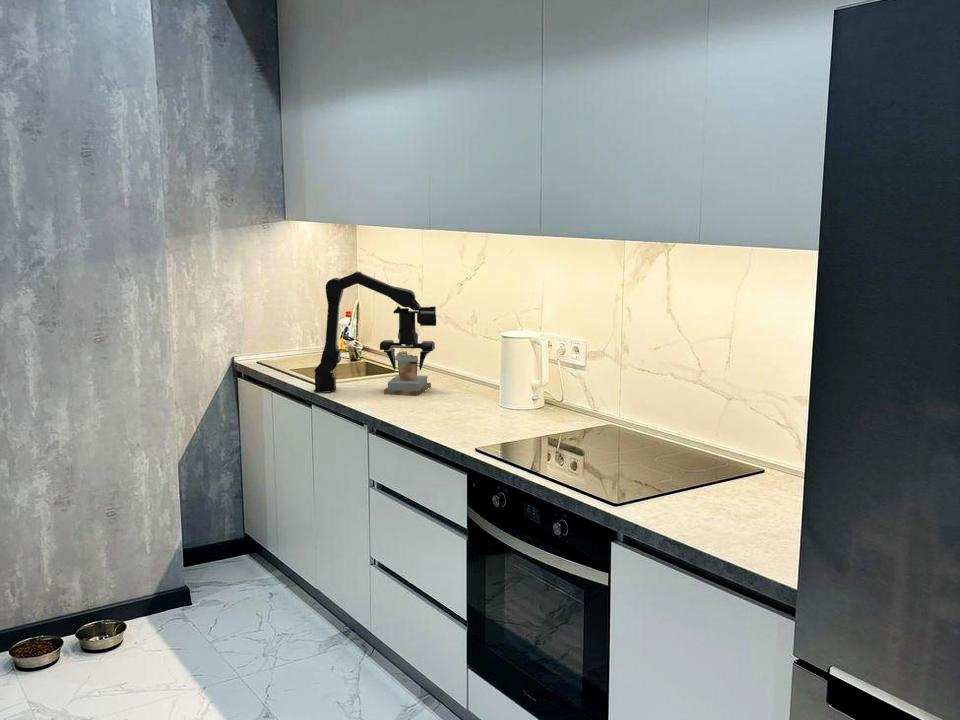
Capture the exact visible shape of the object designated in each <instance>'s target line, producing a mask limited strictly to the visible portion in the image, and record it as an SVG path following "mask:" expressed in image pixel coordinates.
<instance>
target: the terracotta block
mask: <svg viewBox="0 0 960 720" xmlns="http://www.w3.org/2000/svg"><path fill="white" fill-rule="evenodd" d="M415 379H416V364H402V365H401V366H400V381H414V380H415Z"/></svg>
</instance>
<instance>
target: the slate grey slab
mask: <svg viewBox="0 0 960 720" xmlns="http://www.w3.org/2000/svg"><path fill="white" fill-rule="evenodd" d="M426 383H428V376H427V375H417V376H416V379H415V380H414V381H400V375H399V374H397V375H395V376H394V377H393V378H392V379H390V380H389V381H387V388H388V390H409V391H419V390H420V389H421V388H422V387H423V386H424V385H425V384H426Z"/></svg>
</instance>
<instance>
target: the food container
mask: <svg viewBox="0 0 960 720" xmlns="http://www.w3.org/2000/svg"><path fill="white" fill-rule="evenodd" d="M395 361H397V367H398V368H397V369H398V370H397V372H398V373H397V374H398V375H400V366H401V365H402V364H416V376H418V363H419V356H418V355H413V354H408V351H400V352H397V353H396V355H395Z"/></svg>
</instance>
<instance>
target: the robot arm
mask: <svg viewBox="0 0 960 720" xmlns="http://www.w3.org/2000/svg"><path fill="white" fill-rule="evenodd" d="M355 285H360V286H362V287H364V288H368V289H369V290H372V291H375V292H376V293H379V294H381V295H384V296H386V297H388V298H389V299H391V300H392V301H394V302H395V303H397V304H398V306H397V307H396V309H394V310H393V312H392V313H393V314H398V332H397V339H398V342H395V341H394V339H393V340H392V339H385V340H384V339H383V340H382V341H381V342H380V343H379V351H383V354H386V356H387V358H388V359H389V360H390V363H391V366H392V367H393V370H394V371H395V370H396V355H395V354H396V353H395V352H396V349H420V350H421V351H419V368H418V370H419V371H421V370H422V369H423V365H424V362H425V359H426V356H427V355H428V354H430V353H431V352H433V351H434V350H435V349H436V345H435V342H434V341H433V340H423V341H422V342H421V343H419V340H418V339H419V334H418V333H417V332H416V331H417V330H416V323H417V324H419V326H420V327H437V313H436V312H437V310H436V306H435V305H434V306H421V305H420V303H419V302H418V301H417V300H416V295H415V293H414V291H413V290H411V289H408V288H403V287H398V286H394V285H390V284H388V283H386V282H384V281H381V280H379V279H376V278H374V277H372V276H369V275H367V274H364V273H363V272H362V271H355V272H354V273H351V274H349V275H347V276H344V277H341V278H340V277H333V278H331V279H329V280H328V281H327V282H326V283H325V295H326V300H327V315H326V332H325V333H326V334H325V344H324V348H323V351H322V354H321V357H320V363H319V364H318V365H317V366H316V368H314V389H313V392H314V391H332V392H334V391H335V390H336V389H337V377H336V376H335V372H333V371H334V370H335V369H336V367H338V365H339V363H340V362H341V360H342V357H341V355H342V351H343V350H342V348H339V347H338V343H337V342H338V332H339V331H338V329H339V317H340V316H339V315H340V304H341V301H342V298H343V294H344V290H345V289H348V288H351V287H352V286H355ZM400 306H401V307H400ZM410 309H411V310H410ZM334 389H335V390H334ZM333 390H334V391H333Z"/></svg>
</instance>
